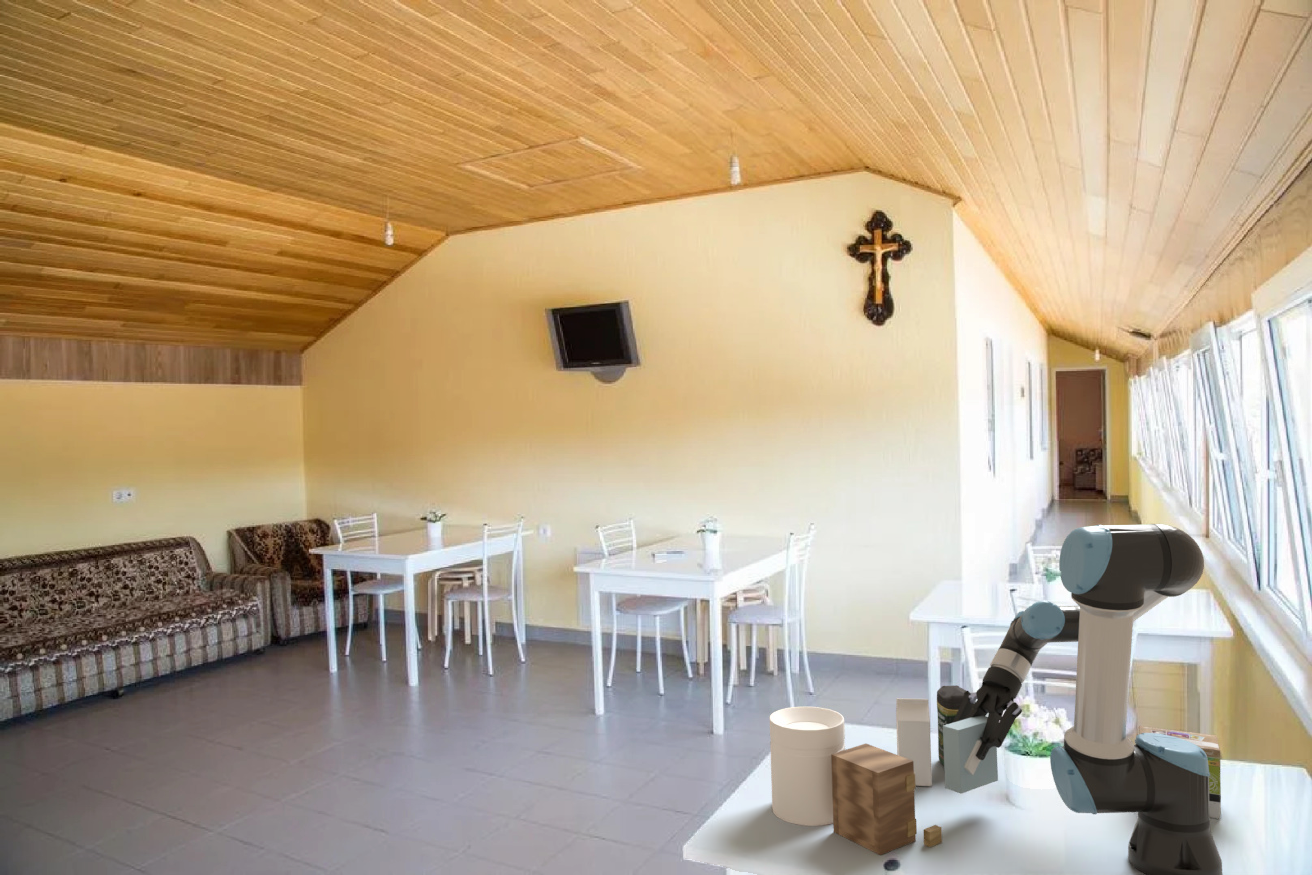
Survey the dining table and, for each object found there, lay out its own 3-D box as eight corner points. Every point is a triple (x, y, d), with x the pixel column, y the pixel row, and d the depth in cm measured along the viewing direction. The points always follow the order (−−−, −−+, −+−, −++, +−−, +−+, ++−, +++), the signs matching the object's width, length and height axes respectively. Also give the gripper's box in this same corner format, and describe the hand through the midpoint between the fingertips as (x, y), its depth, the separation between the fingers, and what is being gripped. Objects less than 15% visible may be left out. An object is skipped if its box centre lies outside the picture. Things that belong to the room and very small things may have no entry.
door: (998, 780, 196) (995, 719, 196) (960, 793, 190) (958, 730, 190) (982, 775, 200) (979, 714, 200) (945, 787, 193) (942, 725, 193)
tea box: (1138, 808, 195) (1137, 738, 195) (1139, 790, 204) (1137, 724, 204) (1222, 820, 188) (1220, 748, 188) (1218, 801, 197) (1217, 732, 197)
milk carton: (931, 787, 210) (929, 703, 209) (899, 785, 211) (897, 703, 211) (929, 775, 217) (926, 694, 216) (897, 773, 218) (895, 693, 218)
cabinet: (941, 842, 183) (939, 761, 182) (894, 862, 175) (892, 778, 175) (879, 814, 196) (877, 739, 196) (833, 831, 189) (831, 754, 189)
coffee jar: (934, 758, 227) (932, 683, 227) (966, 757, 227) (964, 682, 227) (947, 773, 217) (944, 695, 217) (980, 772, 217) (978, 693, 217)
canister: (789, 789, 211) (786, 702, 211) (857, 802, 203) (854, 712, 202) (760, 816, 197) (757, 723, 197) (831, 831, 189) (828, 734, 189)
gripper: (1048, 693, 196) (1002, 789, 187) (981, 678, 210) (935, 766, 201) (1032, 672, 193) (985, 768, 184) (965, 658, 208) (917, 747, 198)
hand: (959, 767), depth 193 cm, fingers closed on door, 4 cm apart
